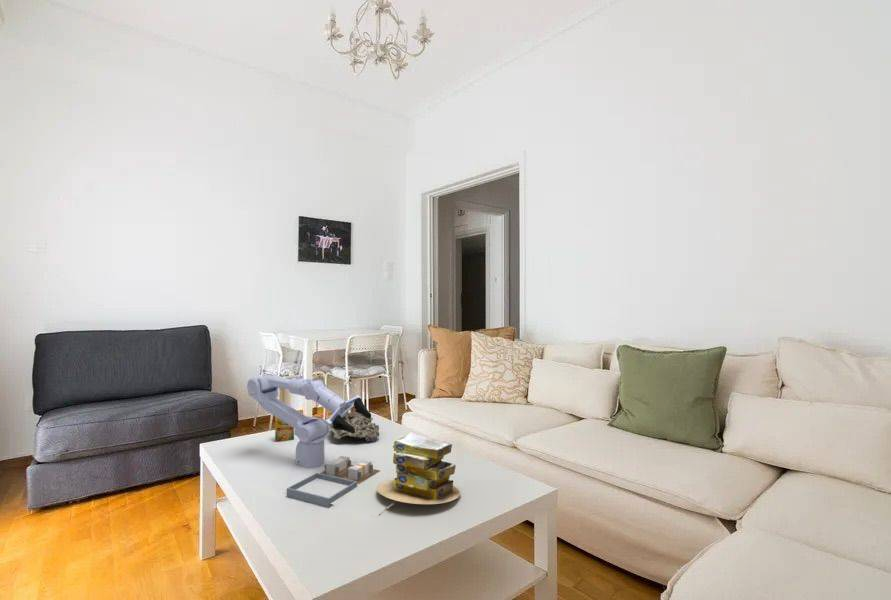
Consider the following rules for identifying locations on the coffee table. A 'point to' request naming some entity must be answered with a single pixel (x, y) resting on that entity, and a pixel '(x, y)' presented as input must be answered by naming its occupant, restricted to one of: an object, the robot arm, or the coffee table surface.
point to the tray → (316, 498)
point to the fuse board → (344, 473)
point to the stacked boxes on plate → (420, 472)
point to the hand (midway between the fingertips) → (362, 423)
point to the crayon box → (283, 431)
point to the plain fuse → (337, 465)
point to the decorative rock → (358, 427)
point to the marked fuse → (359, 469)
